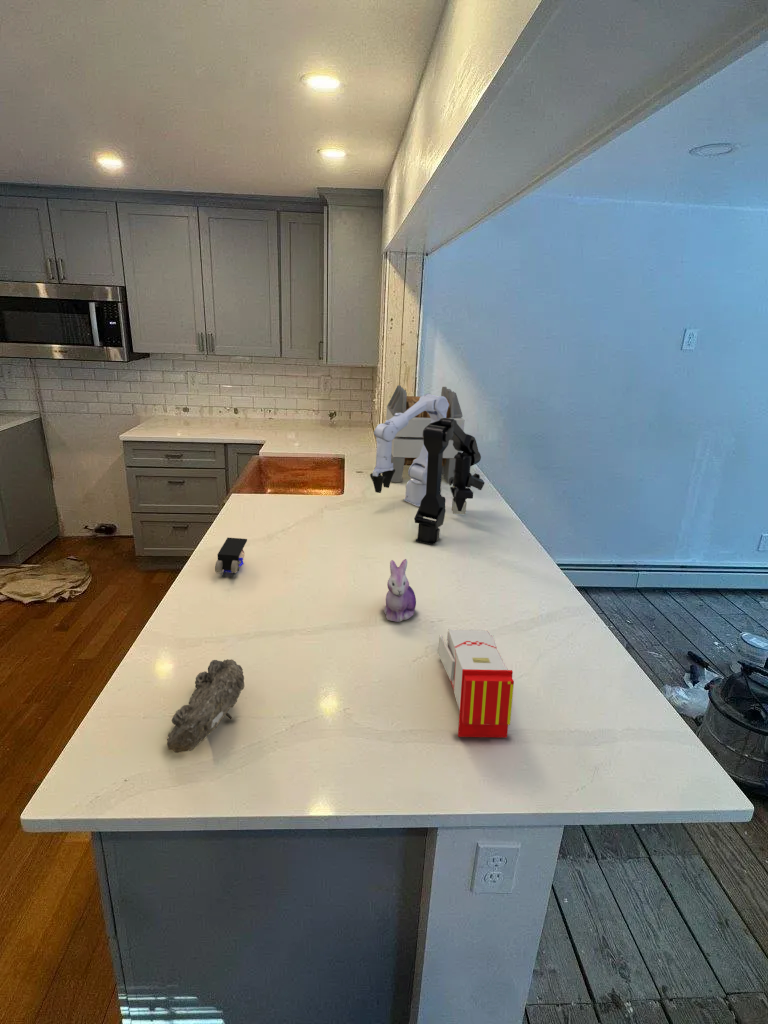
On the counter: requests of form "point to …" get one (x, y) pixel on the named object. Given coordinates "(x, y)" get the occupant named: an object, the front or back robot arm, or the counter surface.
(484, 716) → the toy
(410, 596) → the figurine
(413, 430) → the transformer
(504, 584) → the counter surface
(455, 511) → the block
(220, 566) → the black wheeled box
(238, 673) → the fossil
